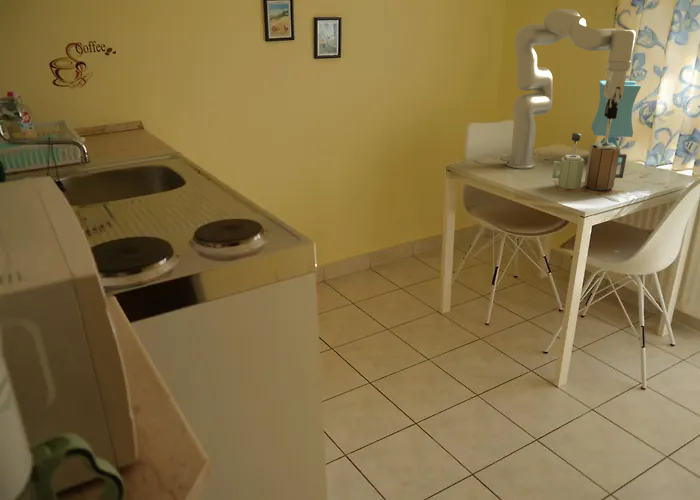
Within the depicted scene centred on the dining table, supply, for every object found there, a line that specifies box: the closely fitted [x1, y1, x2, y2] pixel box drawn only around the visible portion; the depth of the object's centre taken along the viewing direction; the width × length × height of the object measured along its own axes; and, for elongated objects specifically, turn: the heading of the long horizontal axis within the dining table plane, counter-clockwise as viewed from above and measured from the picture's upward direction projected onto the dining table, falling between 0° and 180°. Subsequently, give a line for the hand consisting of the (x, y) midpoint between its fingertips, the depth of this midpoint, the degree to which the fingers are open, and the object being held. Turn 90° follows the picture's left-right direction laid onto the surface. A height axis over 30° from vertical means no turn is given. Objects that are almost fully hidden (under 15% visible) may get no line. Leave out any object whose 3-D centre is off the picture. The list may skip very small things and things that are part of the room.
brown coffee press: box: [584, 142, 627, 191], centre depth 222 cm, size 13×10×17 cm
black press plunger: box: [603, 105, 611, 150], centre depth 217 cm, size 6×6×20 cm
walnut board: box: [553, 180, 619, 195], centre depth 227 cm, size 22×14×1 cm, turn 79°
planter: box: [590, 80, 642, 165], centre depth 262 cm, size 16×16×35 cm
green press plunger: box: [571, 132, 582, 157], centre depth 222 cm, size 5×5×13 cm
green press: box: [551, 154, 585, 189], centre depth 225 cm, size 11×8×12 cm
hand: (610, 117), depth 215 cm, fingers closed on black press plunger, 3 cm apart
